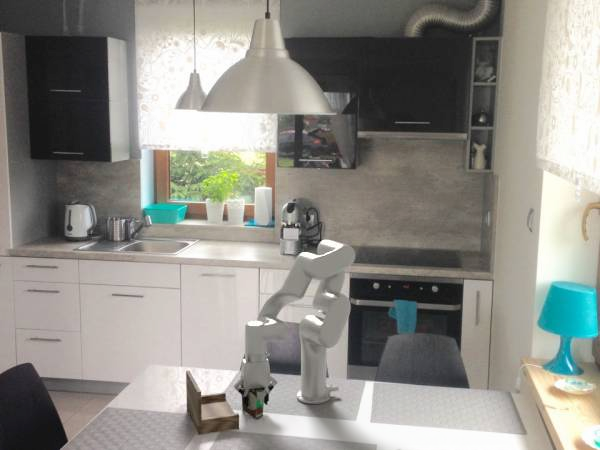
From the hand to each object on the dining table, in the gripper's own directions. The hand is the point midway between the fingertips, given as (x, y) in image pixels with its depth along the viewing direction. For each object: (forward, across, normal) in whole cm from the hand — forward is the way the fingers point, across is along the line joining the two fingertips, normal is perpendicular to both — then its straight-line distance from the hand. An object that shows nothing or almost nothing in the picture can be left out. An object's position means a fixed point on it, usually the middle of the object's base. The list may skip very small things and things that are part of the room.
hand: (255, 404), depth 253 cm
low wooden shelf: (+3, +16, 0) cm, 16 cm away
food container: (+4, 0, 0) cm, 4 cm away
